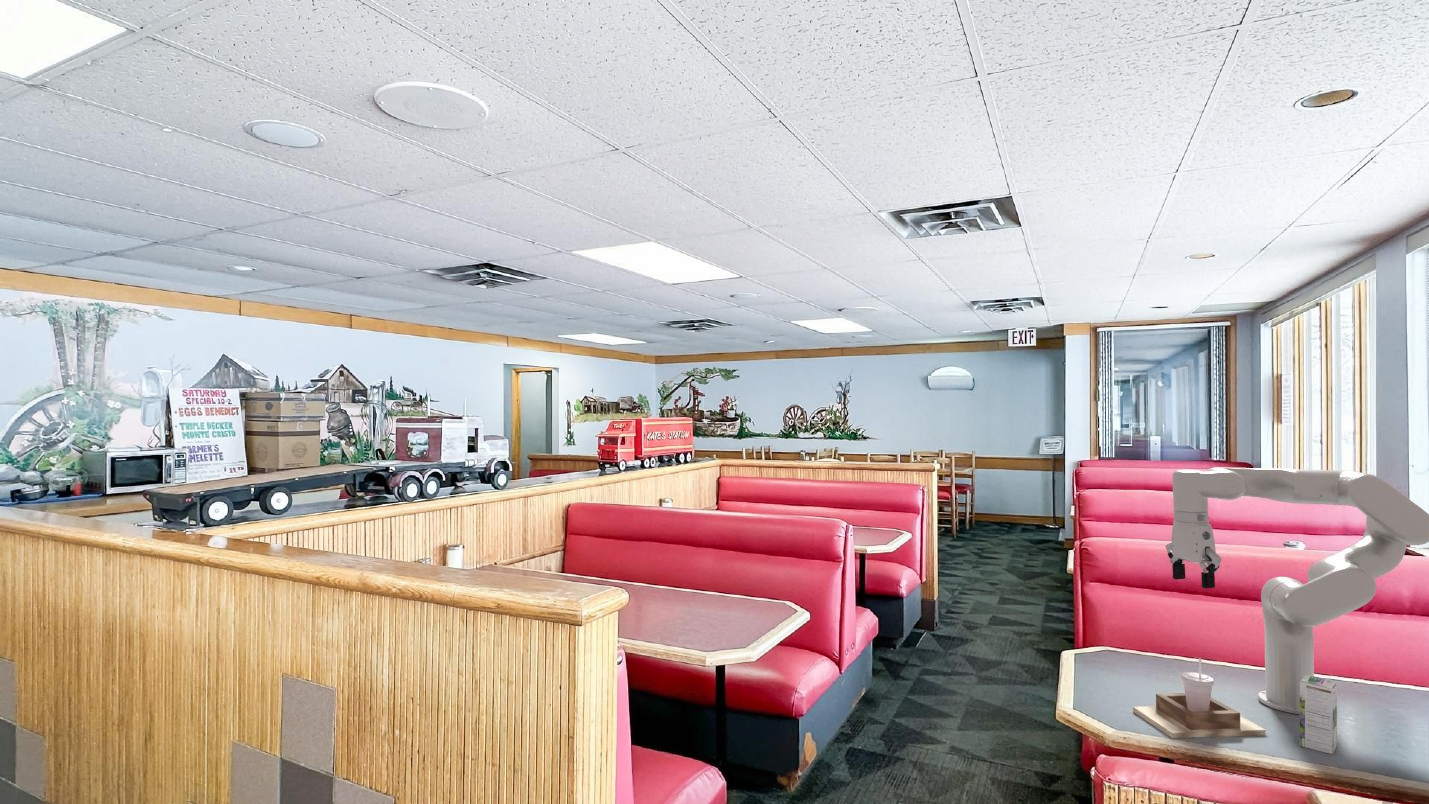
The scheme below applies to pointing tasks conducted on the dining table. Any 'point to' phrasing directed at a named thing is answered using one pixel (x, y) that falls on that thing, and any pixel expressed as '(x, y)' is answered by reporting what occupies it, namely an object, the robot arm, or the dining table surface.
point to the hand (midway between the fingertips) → (1193, 583)
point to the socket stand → (1196, 719)
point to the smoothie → (1197, 690)
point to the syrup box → (1318, 714)
